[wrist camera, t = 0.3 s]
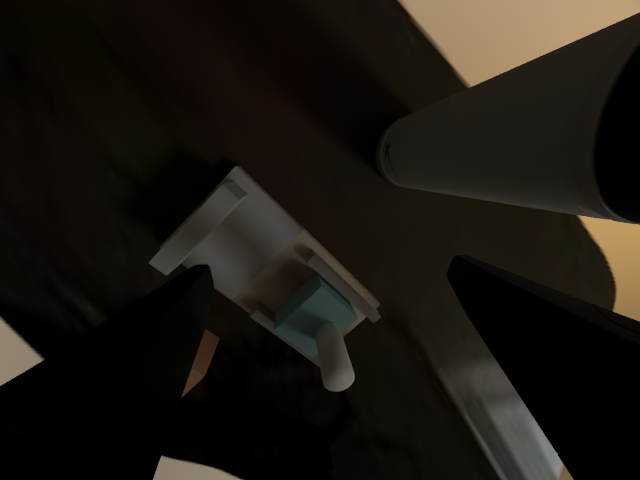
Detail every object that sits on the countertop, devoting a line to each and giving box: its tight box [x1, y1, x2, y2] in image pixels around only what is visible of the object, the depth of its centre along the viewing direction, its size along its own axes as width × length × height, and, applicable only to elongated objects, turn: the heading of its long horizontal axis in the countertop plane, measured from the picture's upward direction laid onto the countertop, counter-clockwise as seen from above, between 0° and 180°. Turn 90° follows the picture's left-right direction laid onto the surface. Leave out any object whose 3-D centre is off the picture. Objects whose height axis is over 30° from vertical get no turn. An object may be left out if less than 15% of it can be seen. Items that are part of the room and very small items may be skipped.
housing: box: [182, 329, 220, 397], centre depth 23 cm, size 5×5×5 cm
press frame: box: [149, 166, 381, 367], centre depth 22 cm, size 10×20×6 cm, turn 44°
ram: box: [274, 272, 358, 391], centre depth 20 cm, size 6×5×8 cm
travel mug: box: [376, 13, 640, 225], centre depth 13 cm, size 6×7×20 cm
